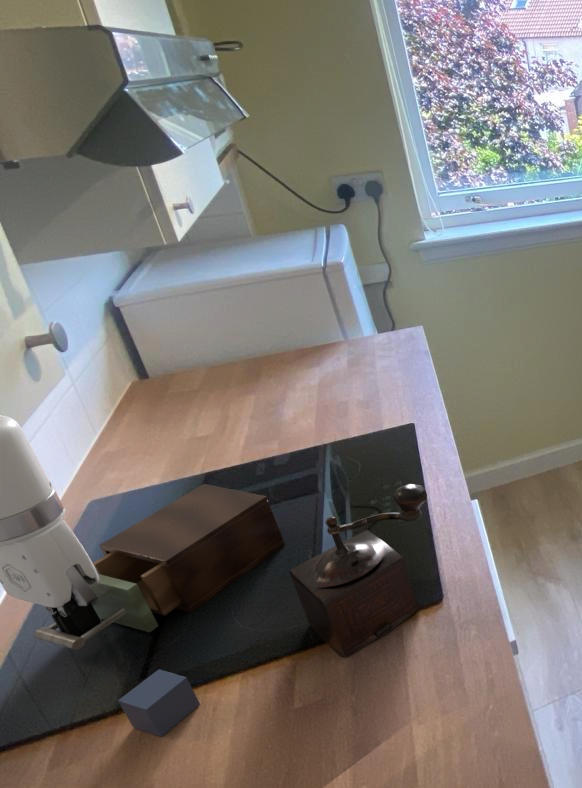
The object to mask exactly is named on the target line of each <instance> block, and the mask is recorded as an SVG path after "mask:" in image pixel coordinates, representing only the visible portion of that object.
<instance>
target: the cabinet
mask: <svg viewBox="0 0 582 788" xmlns="http://www.w3.org/2000/svg"><path fill="white" fill-rule="evenodd" d="M285 545H286V542H285V540H284V538H283V535H282V533H281V530H280V528H279V525H278V523H277V520H276V517H275V515H274V512H273V510H272V508H271V505H270V503H269V500H268V498H267V496H266V495H261V494H256V493H251V492H246V491H241V490H237V489H230V488H226V487H221V486H216V485H212V484H206V483H203V484H202V485H200V486H198V487H197V488H194V489H193V490H190V492H188V493H186V494H184V495H182V496H181V497H179V498H177V499H175V500H174V501H172V502H170V503H169V504H167V505H166V506H164V507H162V508H160V509H158V510H157V511H155V512H153V513H152V514H150V515H148V516H146V517H145V518H143V519H141V520H139V521H138V522H136V523H134V524H133V525H131V526H129V527H128V528H126V529H125V530H122V531H121V532H119V533H117V534H116V535H114V536H112V537H110V538H108V539H107V540H105V541H104V542H102V543H100V544H99V548H100V550H101V552H102V554H103V556H105V555H107V554H108V553H110V552H114V553H118V554H122V555H126V556H130V557H134V558H138V559H142V560H146V561H151V562H155V563H159V564H163V565H164V567H165V569H166V571H167V573H168V575H169V577H170V579H171V581H172V583H173V585H174V587H175V589H176V591H177V593H178V595H179V597H180V599H181V601H182V604H180V605H179V606H177V607H176V608H175V610H179V611H182V612H186V613H190V614H191V613H193V612H194V611H196V610H197V609H198V608H199V607H201V606H202V605H203V604H205V603H207V602H208V601H210V600H211V599H212V598H213V597H214V596H216V595H217V594H219V593H220V592H222V591H223V590H224V589H226V588H227V587H228V586H230V585H231V584H232V583H234V582H236V581H237V580H238V579H239V578H241V577H242V576H243V575H245V574H246V573H248V572H249V571H250V570H252V569H254V568H255V567H256V566H257V565H259V564H260V563H261V562H263V561H264V560H265V559H267V558H269V557H270V556H271V555H272V554H274V553H275V552H277V551H278V550H280V549H281V548H283V546H285Z"/></svg>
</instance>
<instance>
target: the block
mask: <svg viewBox="0 0 582 788" xmlns="http://www.w3.org/2000/svg"><path fill="white" fill-rule="evenodd" d="M117 702H118V704H119V706H120V707H121V709H122V711H123V713H124V714H125V716H126V717H127V719H128V721H129V723H130V725H131V726H132V728H133V729H136V730H139V731H142V732H144V733H148V734H151V735H154V736H157V737H159V738H160V737H161V738H162V737H163V736H165V735H166V734H167V733H168V732H170V731H171V730H172V729H174V727H175V726H177V725H178V724H179V723H180V722H181V721H182V720H184V719H185V718H186V717H187V716H189V715H190V714H191V713H192V712H193V711H194V710H196V709H197V708H198V707H199V706H200V705H201V703H200V700H199V699H198V697H197V696H196V693H195V691H194V689H193V687H192V686H191V683H190V682H189V679H188V678H187V677H186V676H183V675H179V674H177V673H172V672H169V671H166V670H162V669H157V670H156V671H155V672H153V673H152V674H151V675H149V676H148V677H147V678H145V679H144V680H142V682H140V683H139V684H137V685H136V686H135V687H134V688H132V689H131V690H130V691H128V692H127V693H126V694H125V695H123V696H122V697H121V698H119V699H118V700H117Z"/></svg>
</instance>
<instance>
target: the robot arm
mask: <svg viewBox="0 0 582 788" xmlns="http://www.w3.org/2000/svg"><path fill="white" fill-rule="evenodd" d="M66 513H67V512H66V508H65V506H64V504H63V503H62V501H61V499H60V497H59V495H58V494H57V492H56V490H55V488H54V486H53V484H52V482H51V480H50V479H49V476H48V474H47V473H46V471H45V469H44V467H43V466H42V464H41V462H40V460H39V458H38V456H37V454H36V452H35V450H34V448H33V447H32V444H31V443H30V441H29V439H28V437H27V436H26V434H25V432H24V430H23V428H22V427H21V425H20V424H19V422H18V421H16V419H14V418H12V417H10V416H7V415H1V414H0V584H1V586H2V588H3V589H4V591H5V593H6V594H7V595H8V596H11V598H15V599H18V600H20V601H24V602H28V603H30V604H36V605H39V606H43V607H44V608H45V610H46V611H47V612H48V613H50V614H52V615H51V617H52V619H53V621H54V623H55V622H56V624H57V626H58V628H57V629H58V630H59V631H61V632H64V633H67V634H71V635H74V636H78V637H81V636H82V635H84V634H85V633H87V632H88V631H90V630H91V629H93V628H94V627H96V626H97V625H99V624H100V623H102V621H101V620H102V619H100V618H99V617H98V615H97V613H96V611H95V609H94V608H93V606H92V604H91V603H92V602H93V601H95V600H97V599H98V598H97V596H96V594H95V593H94V592H93V590H92V589H91V588H90V586H89V585H97V584H98V582H99V576H98V573H97V571H96V569H95V567H94V565H93V561H92V559H91V558H90V556H89V554H88V553H87V551H86V549H85V548H84V546H83V544H82V543H81V542H80V540H79V539H78V537H77V536H76V534H75V533H74V531H73V530H72V529H71V527H70V526H69V524H68V523H67V522H66V521H65V520H64V517H65V515H66ZM88 584H89V585H88Z"/></svg>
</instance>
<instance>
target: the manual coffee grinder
mask: <svg viewBox="0 0 582 788" xmlns="http://www.w3.org/2000/svg"><path fill="white" fill-rule="evenodd" d="M427 499H428V494H427V491H426V489H425V487H424V486H423V485H419V484H414V483H408V484H405V485H401V486H399V487H398V488H396V490H395V492H394V495H393V500H394V502H395V503H396V504H397V505H398V506H399V508H400V512H393V511H392V512H382V513H378V514H374V515H371V516H368V517H364V518H361V519H358V520H355V521H351V522H348V523H345V524H341V525H340V524H338V518H337V517H336V516H329V517H327V518H326V520H325V521H324V522H325V524H326V526H327V527H328V528H327V533H328V534H329V535H330V536H331V537H332V539H333V542H334V544H335V546H333V547H331V548H329V549H327V550H325V551H323V552H321V553H319V554H318V555H315V556H313V557H311V558H310V559H308V560H306V561H304V562H302V563H300V564H299V565H296V566H295V567H293V568H291V569H289V575H290V577H291V580H292V582H293V585H294V588H295V590H296V593H297V597H298V599H299V601H300V604H301V606H302V609H303V611H304V614H305V616H306V619H307V622H308V624H309V625H310V627H311V628H312V629H313V631H314V632H315V633H316V634H317V635H318V636H319V637H320V638H321V639H322V640H323V641H324V643H326V644H327V645H328V646H329V647H330V649H332V650H333V651H334V652H335V653H336V654H337V655H338V657H341V658H342V657H343V658H347V657H349V656H351V655H352V654H354V653H356V652H358V651H359V650H361V649H363V648H364V647H366V646H367V645H368V646H369V644H371V643H373V642H375V641H376V640H378V639H380V638H381V637H383V636H384V635H386V634H387V633H390V631H392V630H393V629H394V628H396V627H397V626H399V625H401V624H402V623H403V622H405V621H406V620H407V619H409V618H410V617H412V615H414V614H415V613H416V612H417V611H419V610H420V609H421V606H420V604H419V602H418V600H417V597H416V594H415V592H414V589H413V585H412V582H411V578H410V575H409V572H408V569H407V568H408V567H407V565H406V562H405V559H404V558H403V556H402V555H401V554H400V553H398V552H397V551H396V550H395V549H394V548H393V547H392V546H390V545H389V544H388V543H386V542H385V541H384V540H383V539H381V538H379V537H378V536H377V535H375V534H374V533H373V532H371V531H369V530H368V529H366V530H364V531H362V532H360V533H358V534H356V535H354V536H352V537H350V538H347V539H346V540H344V541H343V538H342V535H341V533H342V532H347V531H352V530H356V529H358V528H362V527H364V526H367V525H370V524H373V523H377V522H380V521H385V520H386V521H387V520H395V521H399V520H400V521H402V522H409V523H410V522H415V521H417V520H420V519H421V518H423V513H422V511H421V507H422V506H423V505H424V503H425V502H426V501H427Z"/></svg>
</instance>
